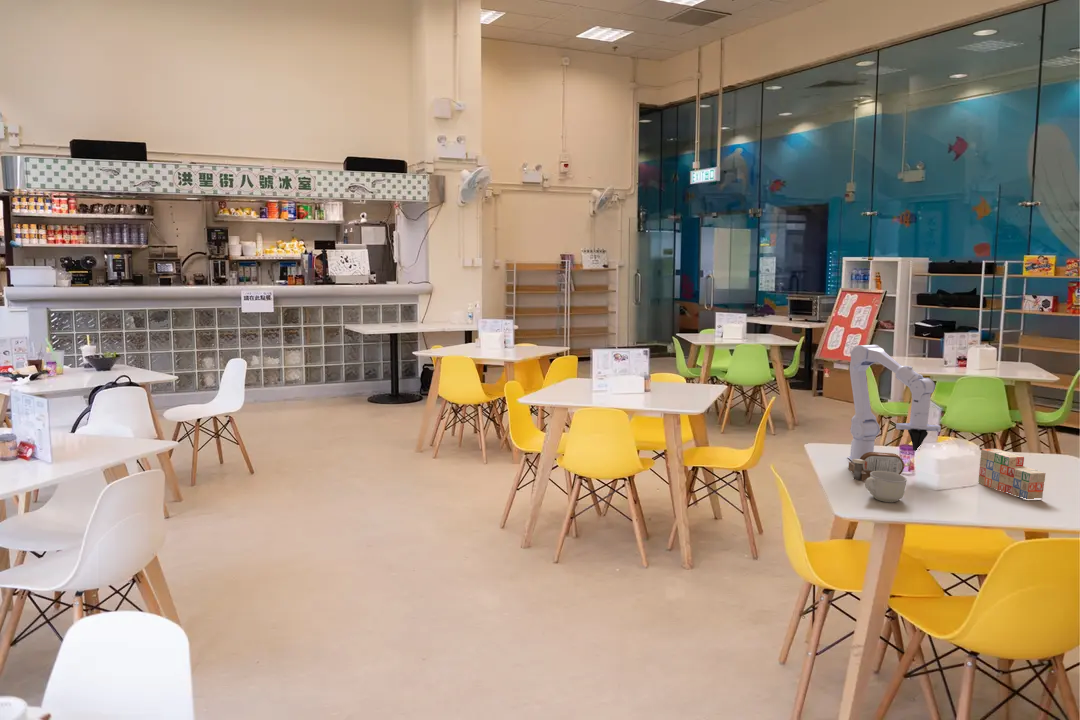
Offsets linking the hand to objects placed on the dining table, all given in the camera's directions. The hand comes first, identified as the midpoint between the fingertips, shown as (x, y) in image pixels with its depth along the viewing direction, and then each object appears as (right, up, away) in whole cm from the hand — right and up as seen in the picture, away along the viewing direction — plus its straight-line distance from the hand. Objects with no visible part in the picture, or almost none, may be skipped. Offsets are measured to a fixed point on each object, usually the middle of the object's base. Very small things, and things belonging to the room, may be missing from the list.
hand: (915, 450), depth 286 cm
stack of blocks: (+24, -12, -14) cm, 31 cm away
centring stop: (-20, -9, 0) cm, 22 cm away
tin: (-13, -9, -1) cm, 16 cm away
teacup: (-24, -13, -29) cm, 40 cm away
